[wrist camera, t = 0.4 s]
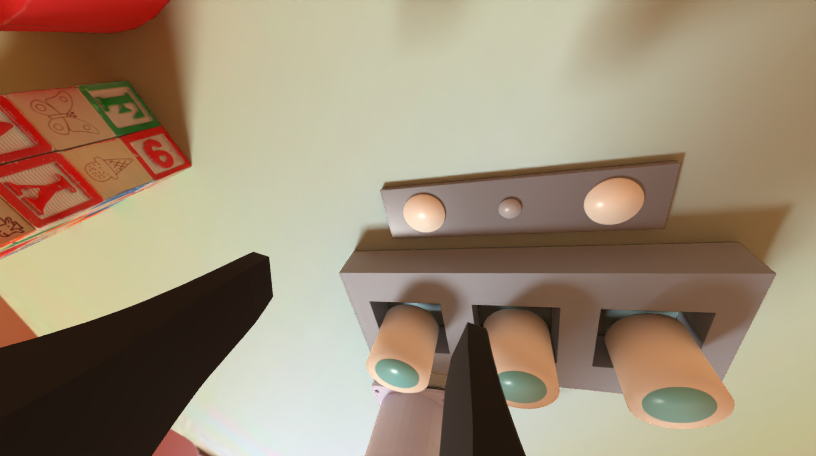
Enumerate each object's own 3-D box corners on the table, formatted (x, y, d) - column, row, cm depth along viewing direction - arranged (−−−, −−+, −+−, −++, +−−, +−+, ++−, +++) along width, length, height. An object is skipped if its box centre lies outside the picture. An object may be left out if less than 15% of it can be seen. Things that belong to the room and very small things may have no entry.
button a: (442, 345, 22) (433, 397, 19) (391, 341, 23) (375, 389, 20) (434, 305, 20) (422, 355, 17) (379, 303, 21) (358, 350, 18)
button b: (548, 353, 20) (558, 414, 16) (485, 348, 21) (483, 404, 18) (549, 309, 18) (561, 368, 15) (480, 307, 19) (477, 360, 16)
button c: (679, 363, 17) (719, 435, 14) (600, 357, 19) (621, 422, 16) (697, 314, 16) (749, 385, 12) (608, 311, 17) (634, 375, 14)
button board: (689, 365, 20) (711, 403, 18) (385, 342, 27) (376, 367, 25) (738, 242, 15) (776, 273, 13) (353, 251, 22) (339, 272, 20)
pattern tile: (660, 224, 16) (665, 229, 15) (394, 235, 20) (392, 239, 20) (676, 160, 14) (682, 164, 14) (382, 188, 19) (379, 191, 18)
